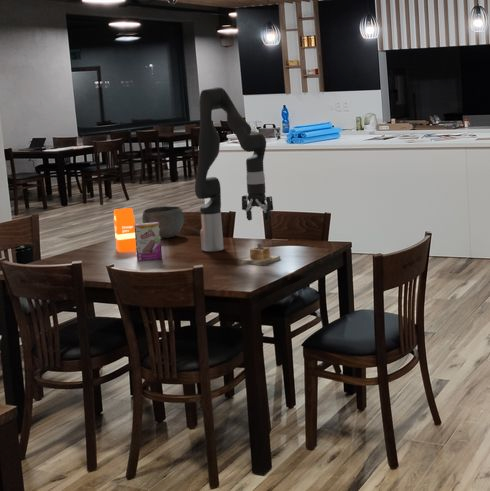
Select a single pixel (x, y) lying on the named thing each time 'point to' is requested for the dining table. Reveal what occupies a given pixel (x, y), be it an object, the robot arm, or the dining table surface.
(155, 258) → the candy bar box
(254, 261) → the wooden peg stand
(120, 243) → the orange juice
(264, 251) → the small wooden box
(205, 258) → the dining table surface
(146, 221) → the bowl
